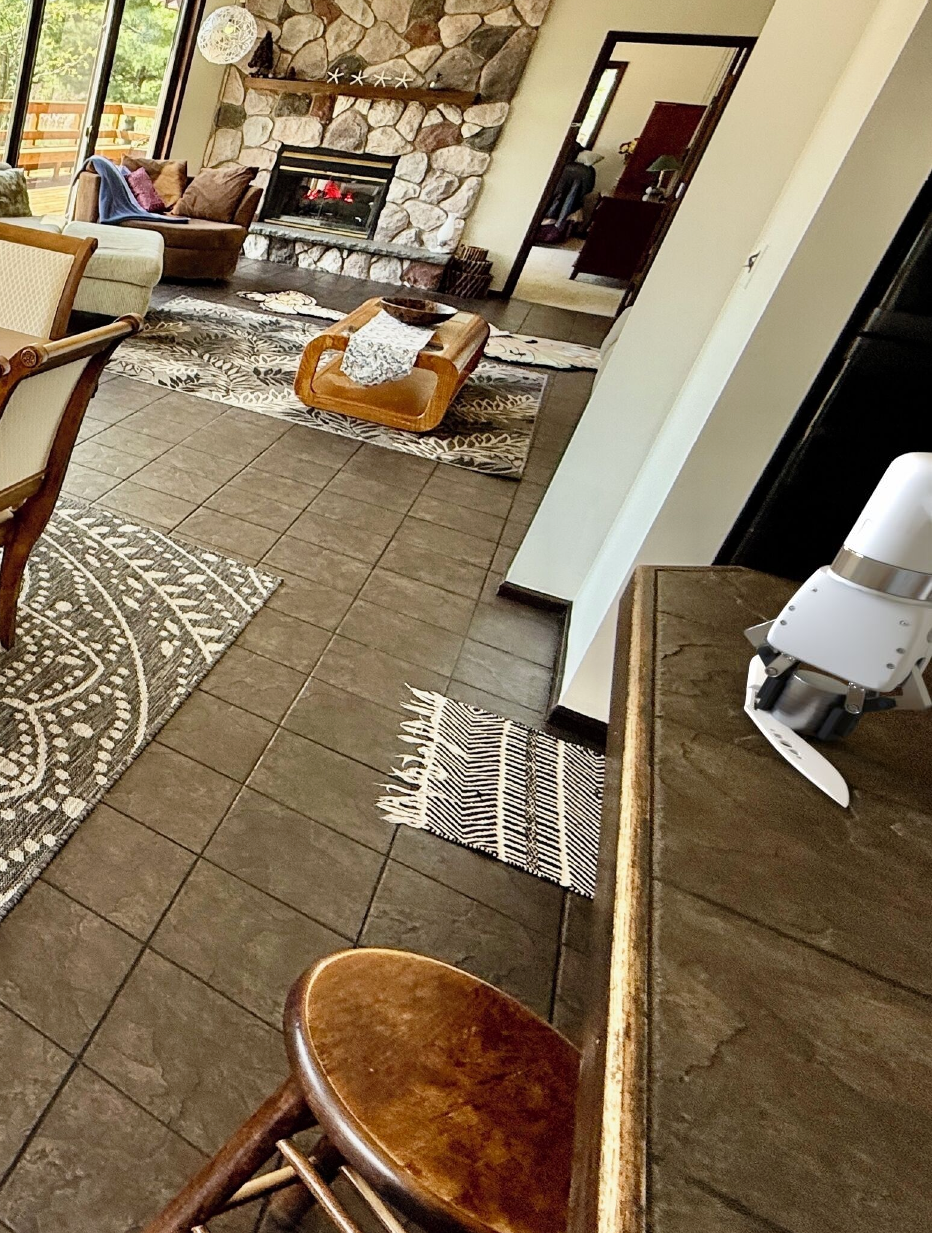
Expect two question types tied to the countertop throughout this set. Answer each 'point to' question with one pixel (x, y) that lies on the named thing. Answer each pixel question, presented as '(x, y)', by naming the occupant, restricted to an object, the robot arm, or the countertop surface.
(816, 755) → the knife
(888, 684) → the robot arm
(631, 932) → the countertop surface
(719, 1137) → the countertop surface
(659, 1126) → the countertop surface
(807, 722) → the cylinder
